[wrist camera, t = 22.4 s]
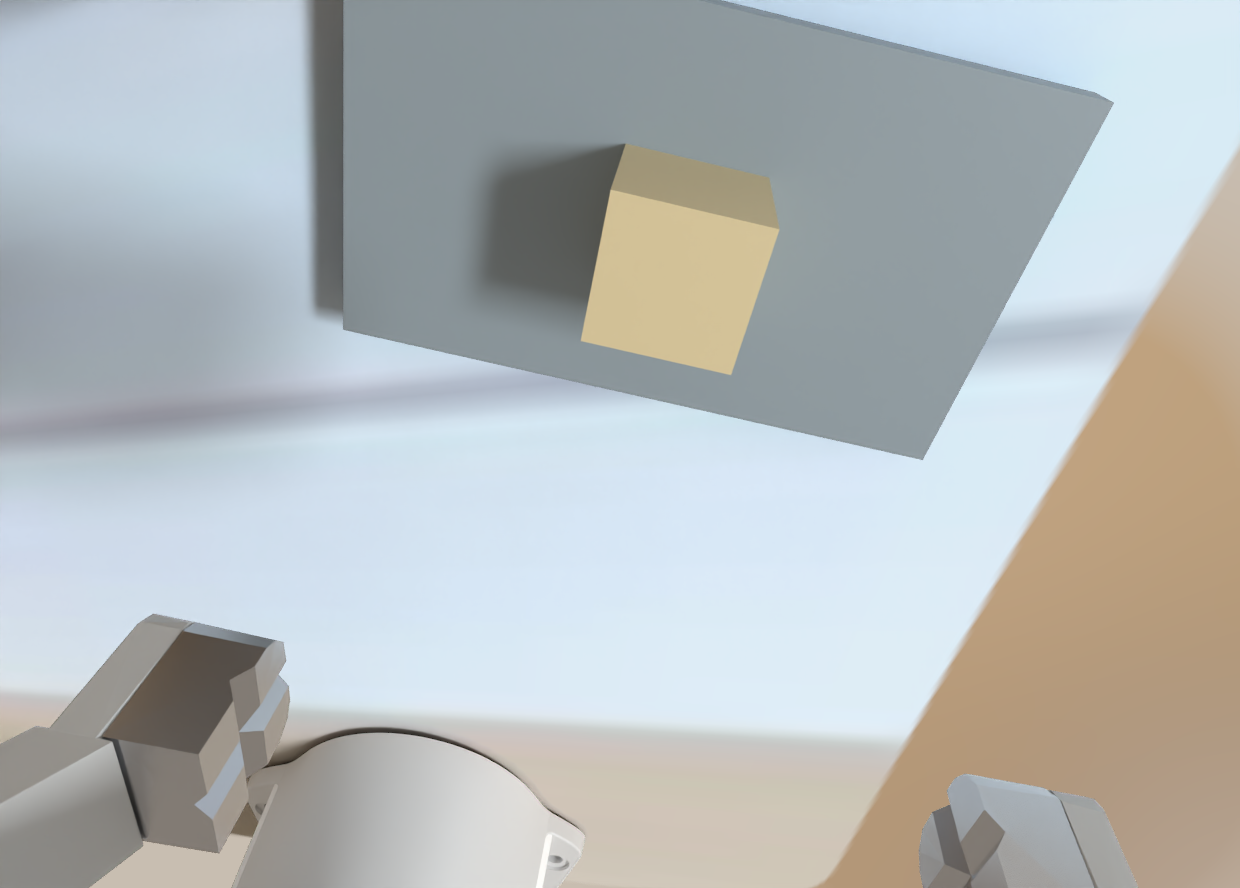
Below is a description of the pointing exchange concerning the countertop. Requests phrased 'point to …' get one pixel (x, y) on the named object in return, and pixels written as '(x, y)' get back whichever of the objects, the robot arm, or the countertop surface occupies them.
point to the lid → (695, 203)
